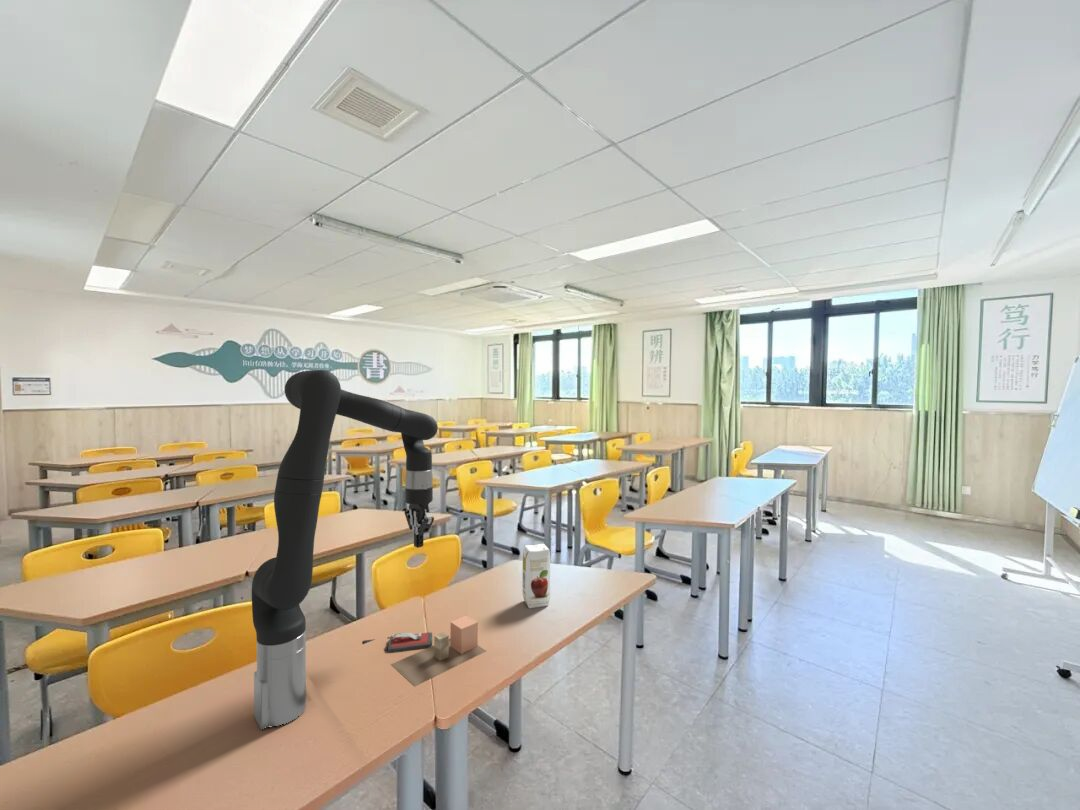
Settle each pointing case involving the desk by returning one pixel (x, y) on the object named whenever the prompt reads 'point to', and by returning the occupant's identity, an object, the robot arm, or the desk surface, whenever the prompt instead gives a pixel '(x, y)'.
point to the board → (433, 660)
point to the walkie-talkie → (407, 641)
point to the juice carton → (536, 575)
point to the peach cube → (464, 634)
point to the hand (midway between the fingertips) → (418, 546)
